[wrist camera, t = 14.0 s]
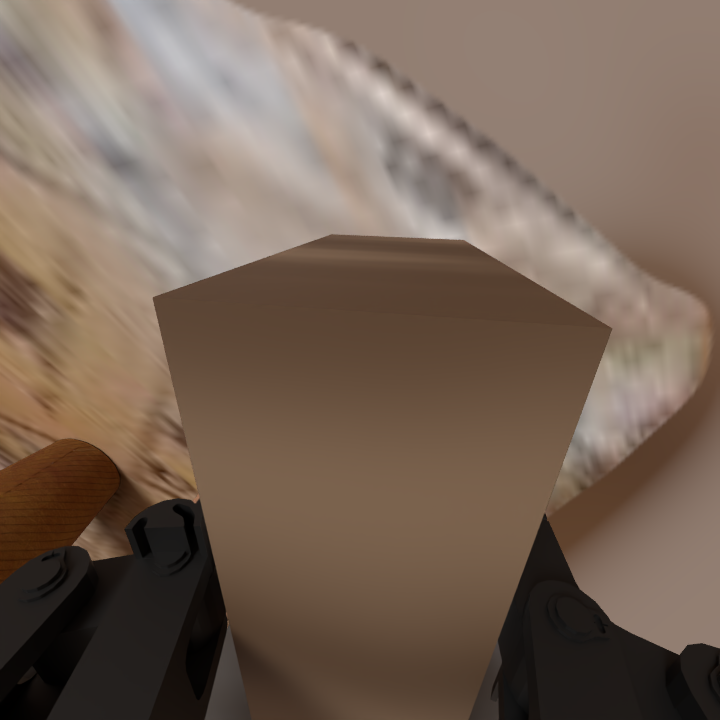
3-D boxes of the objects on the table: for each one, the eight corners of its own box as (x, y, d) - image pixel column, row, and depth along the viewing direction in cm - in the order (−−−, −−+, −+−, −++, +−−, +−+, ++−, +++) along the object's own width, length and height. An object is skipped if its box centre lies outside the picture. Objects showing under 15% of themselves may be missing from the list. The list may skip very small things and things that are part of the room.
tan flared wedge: (473, 549, 15) (531, 858, 8) (282, 522, 16) (180, 777, 9) (552, 244, 10) (983, 354, 2) (254, 231, 11) (-75, 282, 3)
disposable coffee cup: (114, 422, 26) (-99, 577, 15) (153, 512, 30) (7, 687, 19) (10, 420, 27) (-253, 561, 16) (61, 506, 31) (-125, 666, 20)
